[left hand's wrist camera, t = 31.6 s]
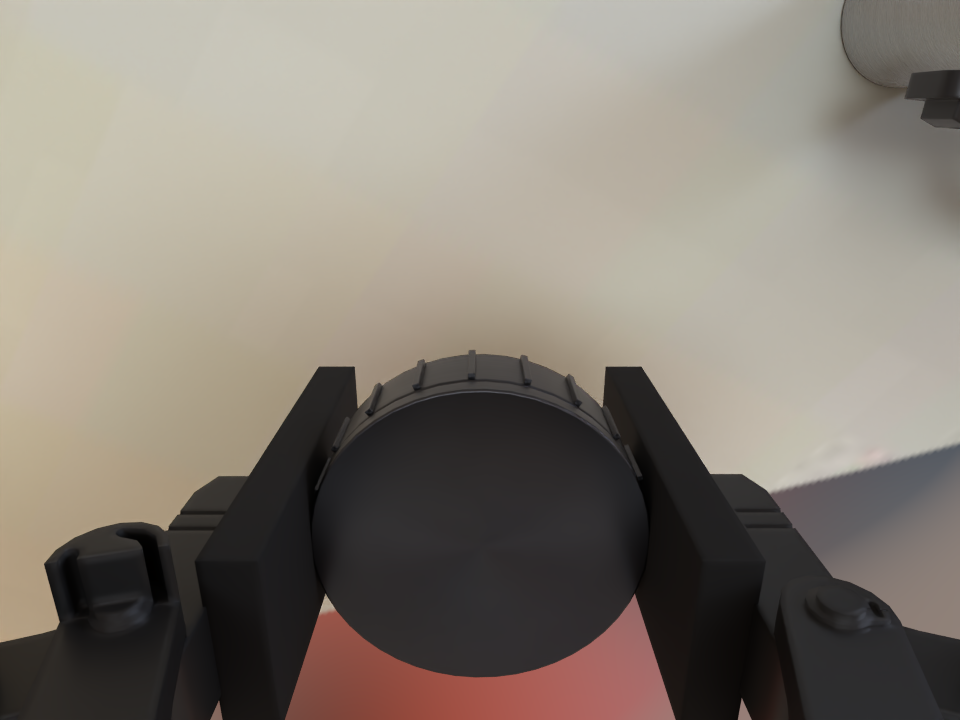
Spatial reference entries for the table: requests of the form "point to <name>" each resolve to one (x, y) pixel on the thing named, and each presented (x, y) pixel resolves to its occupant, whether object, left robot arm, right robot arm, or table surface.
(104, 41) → the table surface
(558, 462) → the lid
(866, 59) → the steel thermos bottle
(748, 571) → the left robot arm
